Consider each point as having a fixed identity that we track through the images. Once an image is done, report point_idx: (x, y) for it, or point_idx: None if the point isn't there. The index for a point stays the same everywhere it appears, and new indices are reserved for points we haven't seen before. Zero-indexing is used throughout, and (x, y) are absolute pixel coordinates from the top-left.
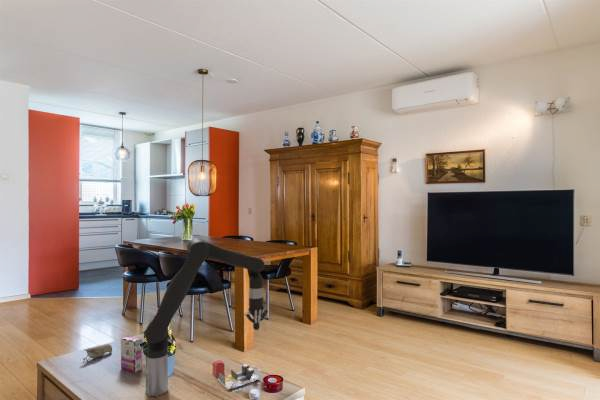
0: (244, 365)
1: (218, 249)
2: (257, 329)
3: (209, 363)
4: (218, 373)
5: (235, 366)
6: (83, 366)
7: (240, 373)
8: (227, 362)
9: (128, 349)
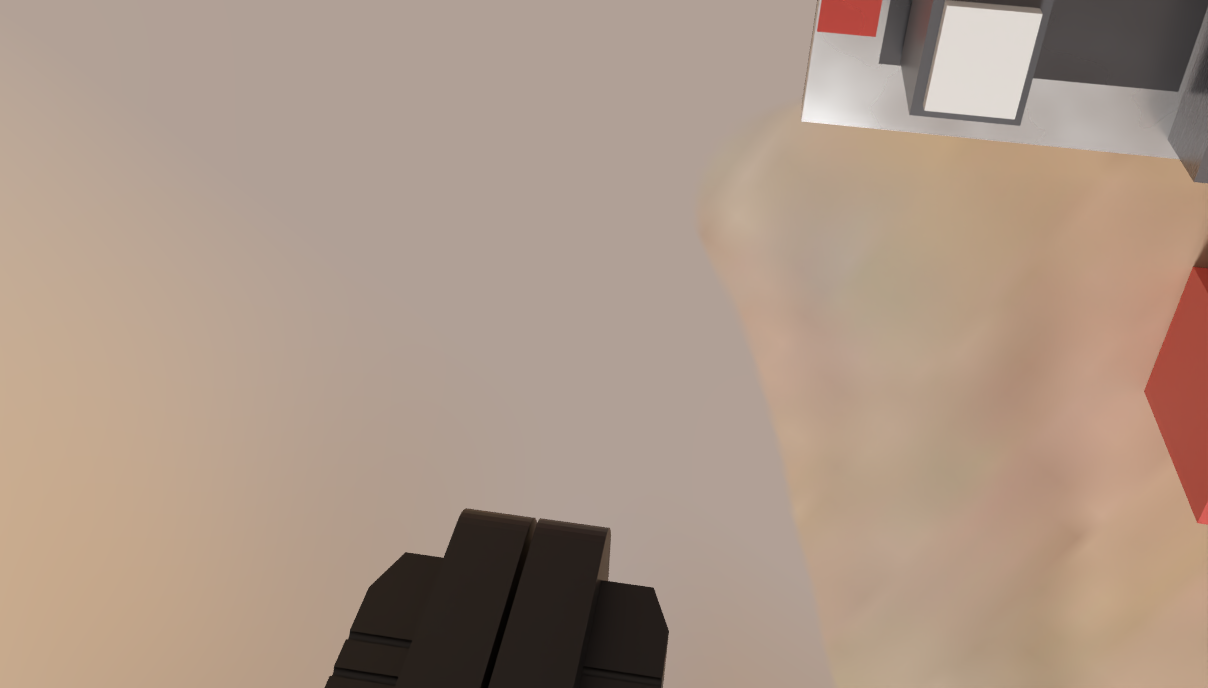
0: (1006, 64)
1: None
2: (527, 518)
3: (1069, 667)
4: None
5: (853, 382)
6: None
7: None
8: (860, 546)
9: None
